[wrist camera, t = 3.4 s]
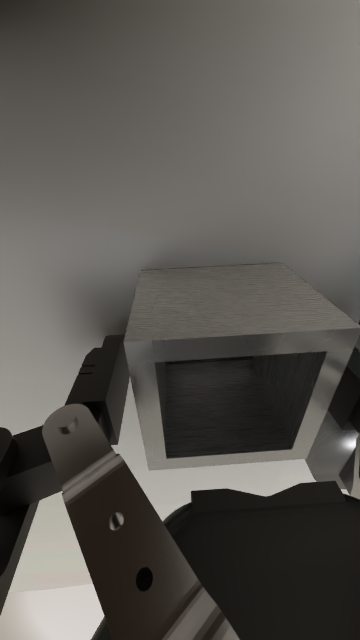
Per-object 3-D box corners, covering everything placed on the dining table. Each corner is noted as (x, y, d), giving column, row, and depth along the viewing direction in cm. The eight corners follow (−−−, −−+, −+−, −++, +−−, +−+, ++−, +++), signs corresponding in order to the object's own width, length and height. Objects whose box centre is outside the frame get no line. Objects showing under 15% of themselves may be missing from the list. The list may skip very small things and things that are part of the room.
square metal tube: (140, 270, 10) (123, 342, 6) (281, 262, 10) (362, 327, 6) (154, 375, 13) (148, 470, 9) (262, 367, 14) (306, 458, 9)
